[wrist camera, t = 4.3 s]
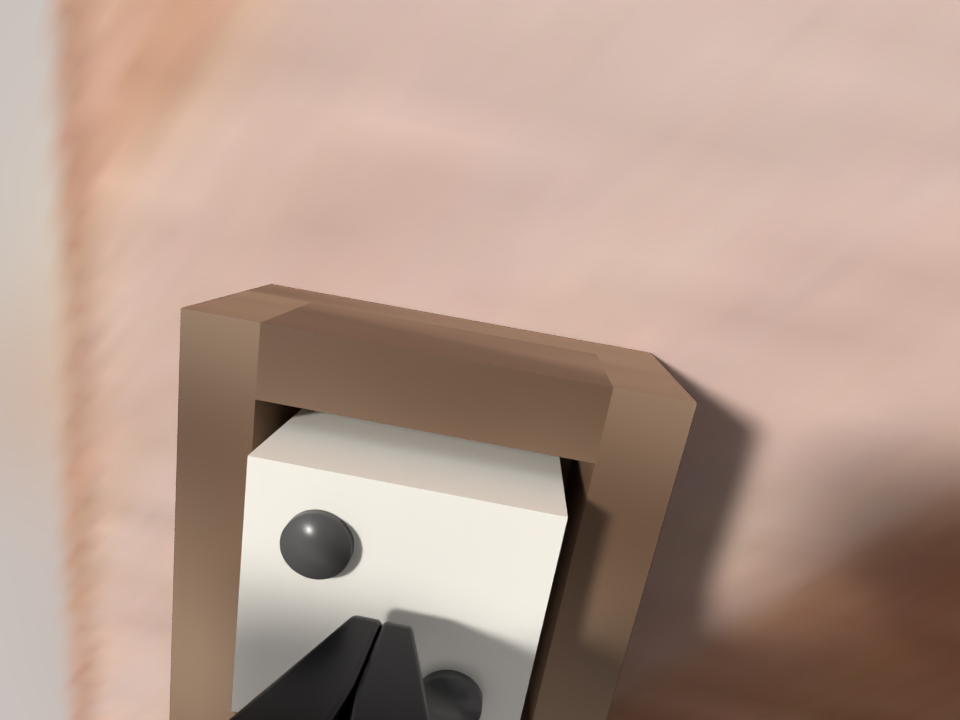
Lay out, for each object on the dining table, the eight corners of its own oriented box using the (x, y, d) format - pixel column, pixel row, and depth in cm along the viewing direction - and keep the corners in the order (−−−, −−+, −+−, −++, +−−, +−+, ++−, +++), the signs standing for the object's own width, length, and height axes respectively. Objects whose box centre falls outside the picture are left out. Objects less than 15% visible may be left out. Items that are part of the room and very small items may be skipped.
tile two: (511, 666, 10) (508, 779, 8) (284, 621, 11) (225, 719, 9) (559, 455, 9) (568, 524, 7) (303, 406, 9) (242, 460, 7)
